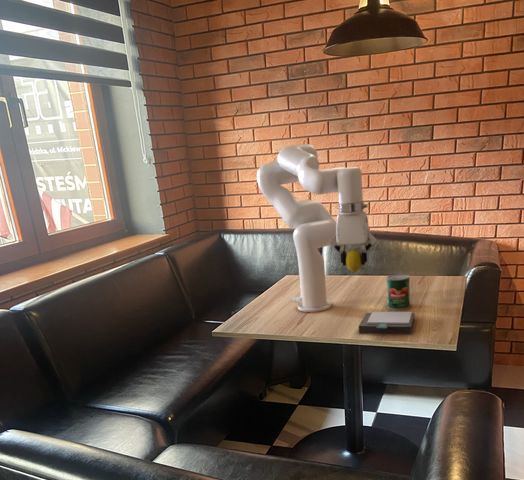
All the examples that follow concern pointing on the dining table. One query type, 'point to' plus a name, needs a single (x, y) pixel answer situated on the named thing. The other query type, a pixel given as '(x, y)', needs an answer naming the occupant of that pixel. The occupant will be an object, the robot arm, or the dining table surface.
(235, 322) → the dining table surface
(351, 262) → the lemon
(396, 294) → the canned tomato
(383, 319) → the scale
